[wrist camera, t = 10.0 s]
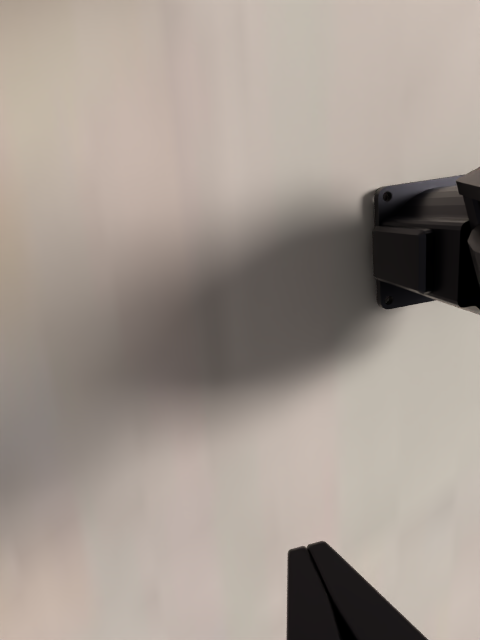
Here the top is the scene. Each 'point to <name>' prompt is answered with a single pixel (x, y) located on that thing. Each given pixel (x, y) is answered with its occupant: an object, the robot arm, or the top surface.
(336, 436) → the top surface
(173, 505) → the top surface
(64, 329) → the top surface
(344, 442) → the top surface
